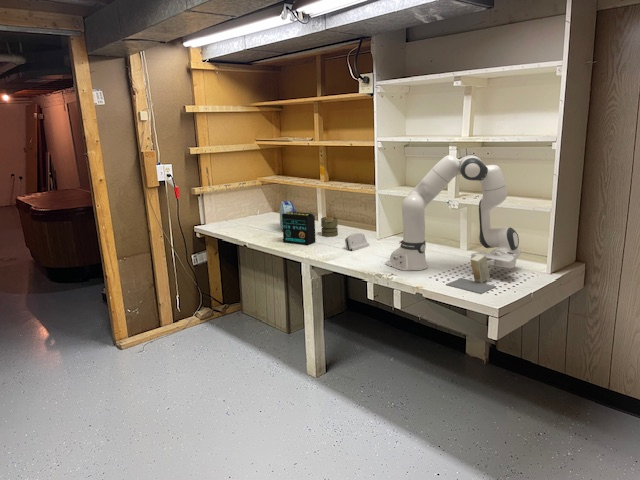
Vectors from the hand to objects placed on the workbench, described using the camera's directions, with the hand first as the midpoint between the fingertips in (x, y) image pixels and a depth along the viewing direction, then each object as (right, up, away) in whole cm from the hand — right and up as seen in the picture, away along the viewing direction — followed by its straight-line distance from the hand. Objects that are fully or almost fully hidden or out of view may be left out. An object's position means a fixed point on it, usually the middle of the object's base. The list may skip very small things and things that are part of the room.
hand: (484, 262), depth 225 cm
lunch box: (-101, +19, +131) cm, 167 cm away
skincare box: (-1, -8, +1) cm, 8 cm away
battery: (-91, +9, +89) cm, 128 cm away
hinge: (-55, +6, +71) cm, 90 cm away
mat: (-8, -10, -5) cm, 14 cm away
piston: (-70, +14, +108) cm, 130 cm away
